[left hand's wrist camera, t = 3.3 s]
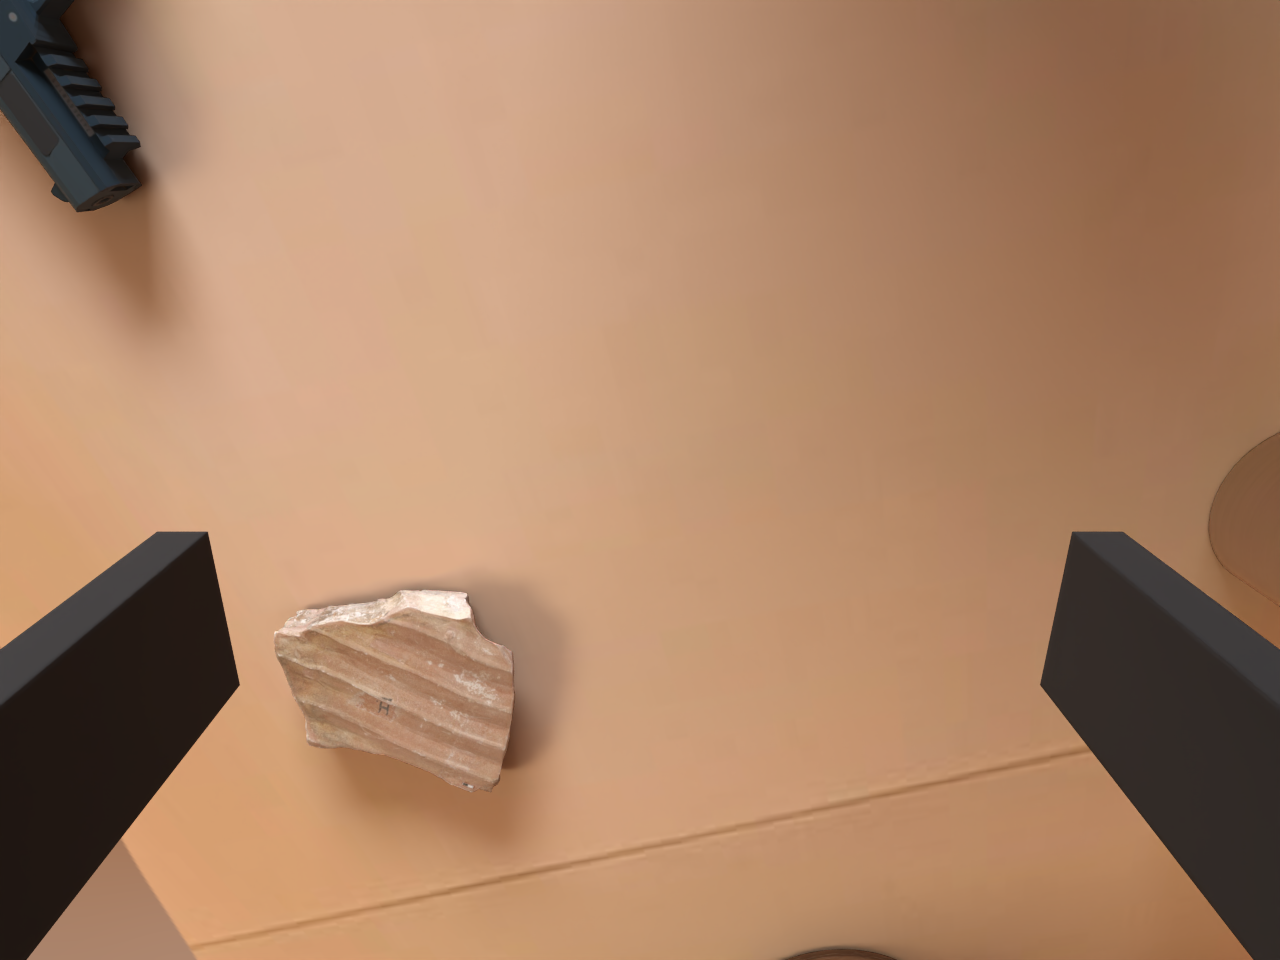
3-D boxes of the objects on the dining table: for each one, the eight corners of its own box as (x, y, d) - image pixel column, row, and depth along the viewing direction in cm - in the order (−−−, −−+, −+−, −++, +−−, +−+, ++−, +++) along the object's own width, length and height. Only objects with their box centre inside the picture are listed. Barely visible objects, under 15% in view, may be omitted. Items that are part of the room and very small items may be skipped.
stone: (532, 602, 44) (525, 627, 42) (505, 776, 48) (497, 807, 46) (293, 562, 43) (272, 585, 41) (286, 742, 48) (267, 772, 45)
